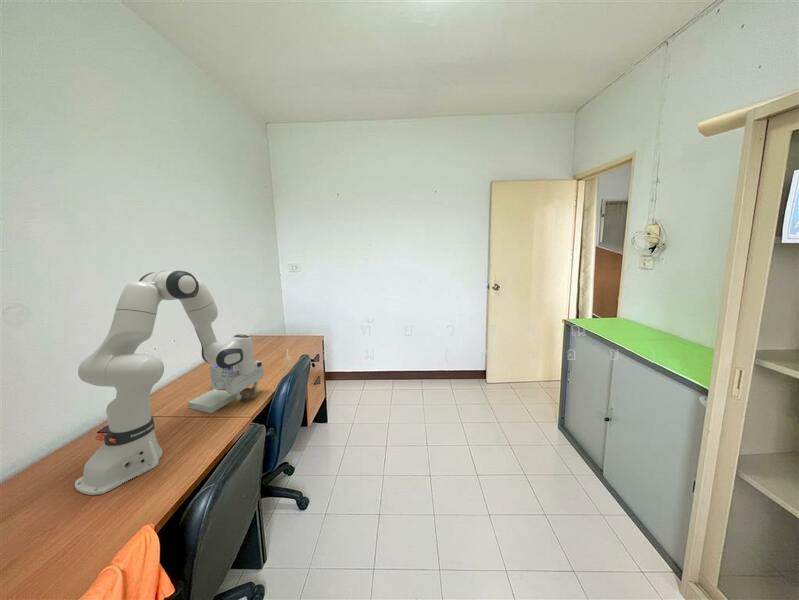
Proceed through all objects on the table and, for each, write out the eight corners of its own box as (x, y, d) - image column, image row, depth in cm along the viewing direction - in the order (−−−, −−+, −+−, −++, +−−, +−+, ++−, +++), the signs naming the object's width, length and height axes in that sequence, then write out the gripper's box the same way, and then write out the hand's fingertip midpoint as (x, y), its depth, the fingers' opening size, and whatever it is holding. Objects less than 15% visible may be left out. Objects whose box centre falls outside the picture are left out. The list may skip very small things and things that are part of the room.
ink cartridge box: (235, 384, 169) (233, 359, 166) (230, 389, 164) (227, 363, 161) (217, 384, 169) (214, 359, 167) (211, 389, 164) (208, 363, 161)
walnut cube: (248, 403, 149) (247, 393, 149) (239, 401, 151) (238, 391, 150) (255, 398, 154) (255, 388, 153) (247, 396, 156) (246, 387, 155)
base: (211, 413, 140) (210, 407, 140) (188, 408, 145) (187, 402, 144) (236, 398, 154) (236, 393, 153) (214, 394, 158) (214, 388, 157)
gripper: (232, 377, 139) (235, 405, 142) (265, 360, 158) (267, 386, 161) (221, 375, 141) (224, 403, 144) (255, 359, 160) (257, 384, 163)
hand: (247, 394), depth 152 cm, fingers open, 8 cm apart
